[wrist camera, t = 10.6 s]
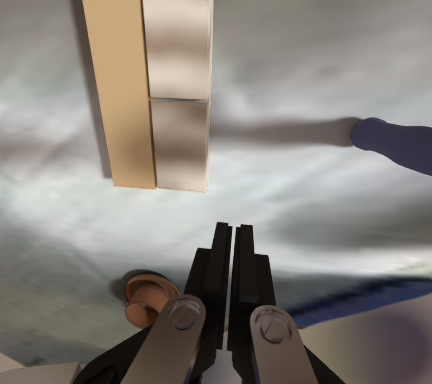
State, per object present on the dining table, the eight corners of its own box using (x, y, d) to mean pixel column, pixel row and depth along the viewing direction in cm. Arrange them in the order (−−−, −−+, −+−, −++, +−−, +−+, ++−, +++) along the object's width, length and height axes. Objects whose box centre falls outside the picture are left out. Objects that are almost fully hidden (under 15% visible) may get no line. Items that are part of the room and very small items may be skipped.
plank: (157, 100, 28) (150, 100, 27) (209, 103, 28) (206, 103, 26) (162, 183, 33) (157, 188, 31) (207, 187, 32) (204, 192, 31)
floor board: (97, -19, 25) (75, -36, 22) (214, -20, 24) (209, -38, 21) (125, 178, 36) (113, 187, 32) (208, 185, 34) (204, 194, 31)
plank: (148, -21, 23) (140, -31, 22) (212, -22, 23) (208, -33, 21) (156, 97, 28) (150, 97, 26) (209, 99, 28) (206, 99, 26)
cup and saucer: (181, 314, 48) (172, 343, 42) (129, 303, 49) (114, 330, 43) (185, 275, 43) (176, 301, 37) (128, 263, 44) (110, 287, 38)
